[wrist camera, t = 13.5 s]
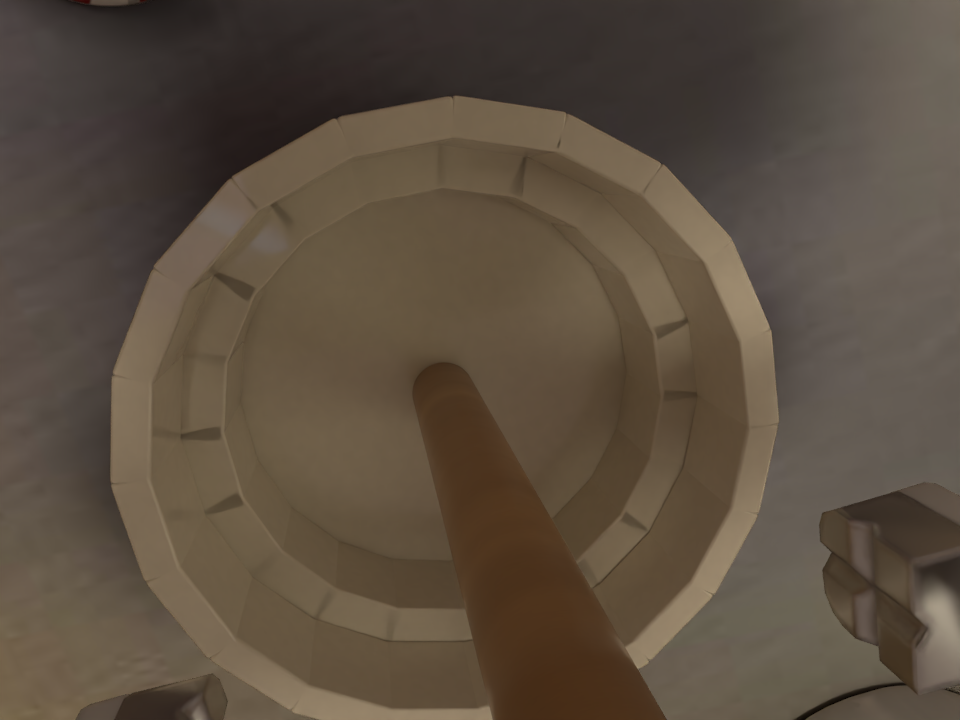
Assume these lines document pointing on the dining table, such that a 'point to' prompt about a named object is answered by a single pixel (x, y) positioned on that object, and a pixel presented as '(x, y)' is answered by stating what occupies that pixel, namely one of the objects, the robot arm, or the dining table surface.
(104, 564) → the dining table surface
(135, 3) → the soda can
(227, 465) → the bowl
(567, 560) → the stir stick
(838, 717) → the utensil holder
